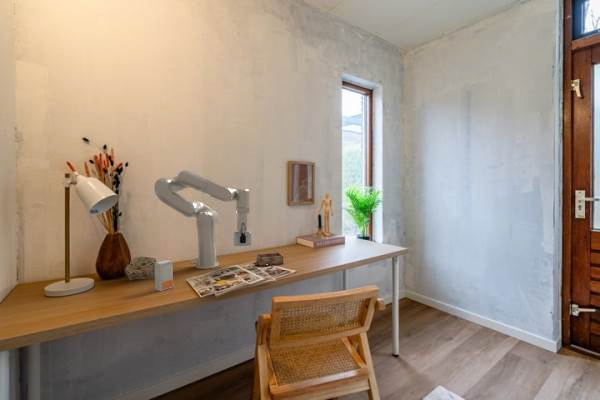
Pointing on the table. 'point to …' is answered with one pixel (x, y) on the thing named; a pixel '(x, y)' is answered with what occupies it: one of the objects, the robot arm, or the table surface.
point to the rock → (141, 268)
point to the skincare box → (163, 275)
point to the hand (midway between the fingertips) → (242, 241)
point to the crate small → (237, 239)
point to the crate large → (270, 259)
